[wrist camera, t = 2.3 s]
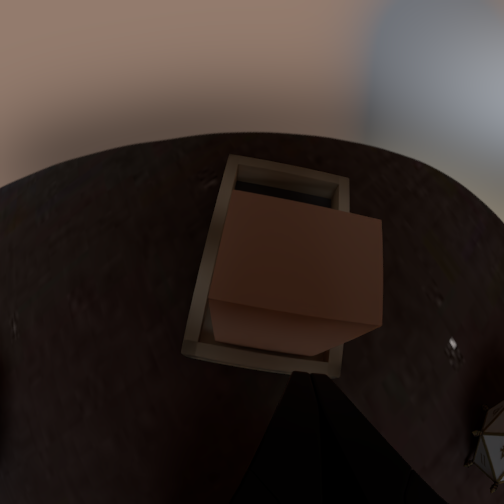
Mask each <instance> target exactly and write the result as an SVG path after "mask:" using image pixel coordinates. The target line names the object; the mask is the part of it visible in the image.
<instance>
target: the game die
mask: <svg viewBox="0 0 504 504" xmlns="http://www.w3.org/2000/svg"><path fill="white" fill-rule="evenodd" d="M482 410H484V411H486V416H485V419H484V422H483V426H482V429H481V430H478V429H476V430H475V431H473V432H472V433H473V435H474V437H475V436H476V437H478V436H479V440H478V443H477V447H476V451H475V454H474V458H473V460H469V461H467V462H466V464H465V465H464V466H466V467H469V466H471V465H472V464H475V465H476V466H477V467H478V468H479V469H480V470H481V471H483V472H484V473H485V474H486V475H487V476H488V477H489V478H490V479H491V480H492V481H493V482H494V484H493V485H491V486H492V487H491V488H490V492H491V493H493V492H494V491H496V489H497V487H498V484H500V483H504V400H502V401H501V402H499V403H498V404H496V405H495V406H493V407H492V408H490V409H489V408H488V406H487V404H486V405H482Z"/></svg>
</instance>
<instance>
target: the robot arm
mask: <svg viewBox="0 0 504 504" xmlns="http://www.w3.org/2000/svg"><path fill="white" fill-rule="evenodd" d="M411 469H412V468H411V466H410V465H409V464H408V463H407V462H406V461H405V460H404V459H403V458H402V457H401V456H400V455H399V454H398V452H397V451H396V450H395V449H394V448H393V447H392V446H391V445H390V444H389V443H388V442H387V441H386V439H385V438H384V437H383V436H382V435H381V434H380V433H379V432H378V431H377V430H376V429H375V427H374V426H373V425H372V424H371V423H370V422H369V421H368V420H367V419H366V418H365V416H364V415H363V414H362V413H361V412H360V411H359V410H358V409H357V408H356V407H355V405H354V404H353V403H352V402H351V401H350V400H349V399H348V398H347V397H346V395H345V394H344V393H343V392H342V391H341V390H340V389H339V388H338V386H337V385H336V384H335V383H334V382H333V381H332V380H331V379H330V377H329V376H328V375H326V374H320V373H310V374H309V373H308V372H302V371H293V372H292V373H291V375H290V378H289V380H288V382H287V385H286V387H285V390H284V392H283V394H282V397H281V399H280V401H279V403H278V406H277V408H276V410H275V412H274V415H273V417H272V419H271V421H270V424H269V426H268V428H267V430H266V432H265V435H264V437H263V439H262V441H261V443H260V445H259V447H258V449H257V451H256V454H255V456H254V458H253V460H252V462H251V464H250V466H249V468H248V471H247V472H246V473H245V475H244V477H243V479H242V481H241V483H240V485H239V487H238V489H237V490H236V492H235V494H234V496H233V497H232V499H231V501H230V502H229V504H449V503H447V502H446V501H445V500H444V499H443V498H442V497H440V496H439V495H438V494H437V493H436V492H435V491H434V490H433V489H432V488H431V487H430V486H429V485H428V484H427V483H426V482H425V481H424V480H423V479H422V478H421V477H420V476H419V475H418V474H417V473H416V472H415V471H414V470H411Z"/></svg>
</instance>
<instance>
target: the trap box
mask: <svg viewBox="0 0 504 504" xmlns="http://www.w3.org/2000/svg"><path fill="white" fill-rule="evenodd" d="M233 190H239V191H244V192H250V193H255V194H261V195H266V196H271V197H277V198H282V199H287V200H292V201H297V202H302V203H307V204H312V205H317V206H321V207H326V208H331V209H335V210H340V211H344V212H349V178H347V177H342V176H338V175H334V174H330V173H325V172H321V171H316V170H312V169H307V168H303V167H298V166H293V165H288V164H283V163H278V162H273V161H267V160H262V159H256V158H251V157H245V156H239V155H233V154H229V157H228V161H227V164H226V168H225V172H224V175H223V179H222V182H221V186H220V190H219V194H218V197H217V201H216V205H215V209H214V213H213V216H212V220H211V224H210V228H209V232H208V236H207V240H206V244H205V248H204V252H203V256H202V260H201V264H200V269H199V273H198V277H197V281H196V286H195V290H194V294H193V299H192V303H191V307H190V312H189V316H188V321H187V325H186V330H185V335H184V339H183V344H182V349H181V353H182V354H183V355H184V356H185V357H190V358H194V359H199V360H204V361H209V362H214V363H219V364H224V365H230V366H236V367H241V368H247V369H253V370H260V371H266V372H273V373H280V374H288V375H291V373H292V372H293V371H302V372H308V373H309V374H310V373H320V374H326V375H328V376H329V377H330V379H332V378H339V377H340V372H341V363H342V353H343V344H341V345H338V346H336V347H334V348H331V349H329V350H327V351H324V352H322V353H319V354H317V355H314V356H312V357H308V356H300V355H293V354H286V353H279V352H272V351H266V350H259V349H253V348H247V347H242V346H236V345H231V344H225V343H220V342H215V338H214V332H213V326H212V320H211V314H210V307H209V301H208V296H209V291H210V287H211V282H212V277H213V273H214V268H215V264H216V259H217V255H218V250H219V246H220V242H221V237H222V233H223V229H224V224H225V220H226V216H227V212H228V207H229V203H230V199H231V195H232V191H233Z"/></svg>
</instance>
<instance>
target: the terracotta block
mask: <svg viewBox="0 0 504 504" xmlns="http://www.w3.org/2000/svg"><path fill="white" fill-rule="evenodd" d="M208 301H209V307H210V314H211V320H212V326H213V332H214V338H215V342H220V343H225V344H231V345H236V346H242V347H247V348H253V349H259V350H266V351H272V352H279V353H286V354H293V355H300V356H308V357H312V356H314V355H317V354H319V353H322V352H324V351H327V350H329V349H331V348H334V347H336V346H338V345H341V344H343V343H345V342H348V341H350V340H352V339H354V338H357V337H359V336H361V335H363V334H365V333H368V332H370V331H372V330H374V329H376V328H378V327H380V326H382V313H383V244H382V221H381V220H379V219H375V218H371V217H366V216H362V215H358V214H353V213H349V212H344V211H340V210H335V209H331V208H326V207H321V206H317V205H312V204H307V203H302V202H297V201H292V200H287V199H282V198H277V197H271V196H266V195H261V194H255V193H250V192H244V191H239V190H233V191H232V195H231V199H230V203H229V207H228V212H227V216H226V220H225V224H224V229H223V233H222V237H221V242H220V246H219V250H218V255H217V259H216V264H215V268H214V273H213V277H212V282H211V287H210V291H209V296H208Z"/></svg>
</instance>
